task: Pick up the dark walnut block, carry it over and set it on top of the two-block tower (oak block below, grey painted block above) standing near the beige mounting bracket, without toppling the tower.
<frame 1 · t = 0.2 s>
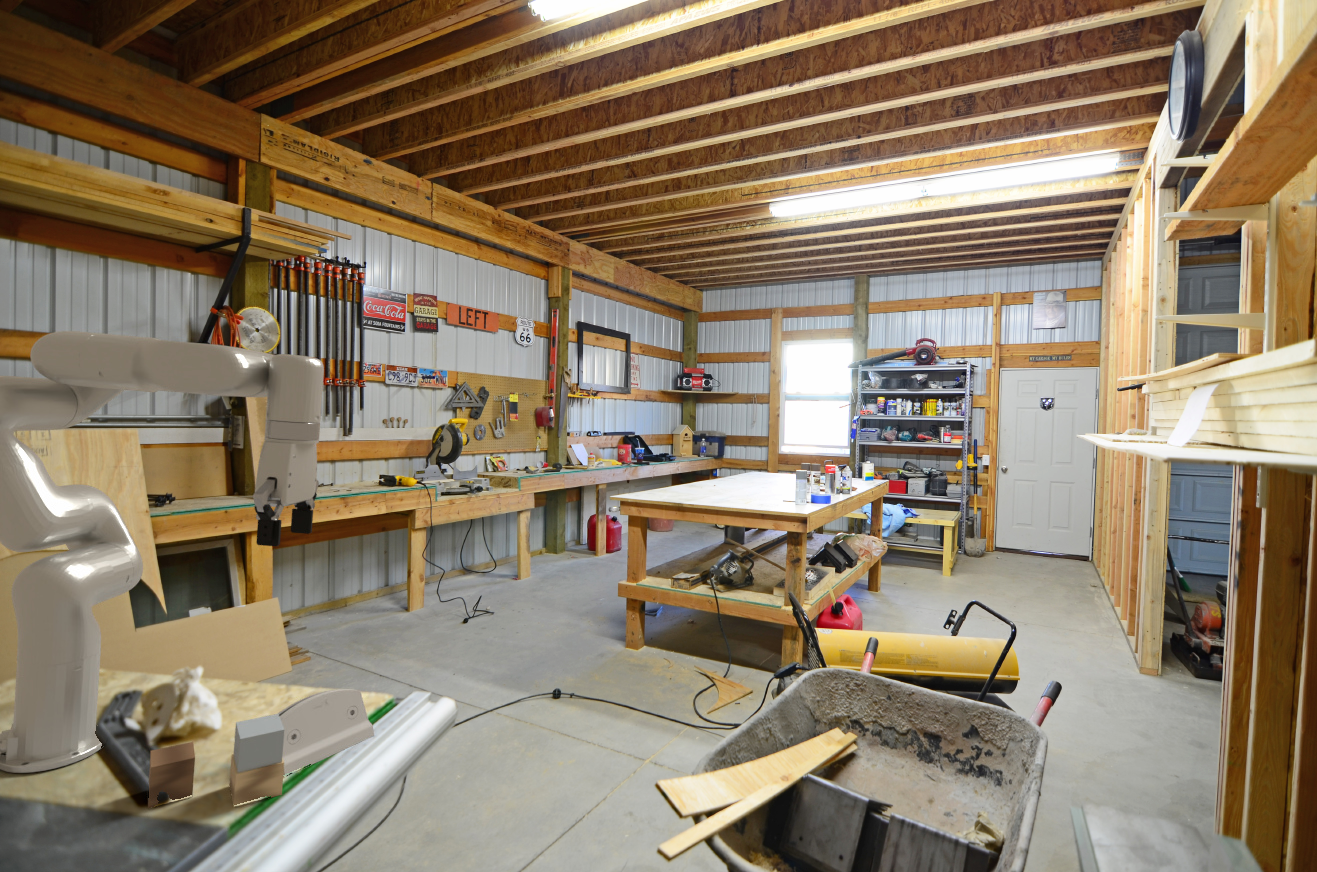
hand: (285, 538, 99), 37 cm above the table, tool pointing down, fingers open, 9 cm apart
oak block: (255, 790, 93), on the table, touching grey block
beige mounting bracket: (318, 749, 106), on the table
grey block: (257, 758, 93), point 5 cm above the table, touching oak block
walnut block: (170, 793, 91), on the table
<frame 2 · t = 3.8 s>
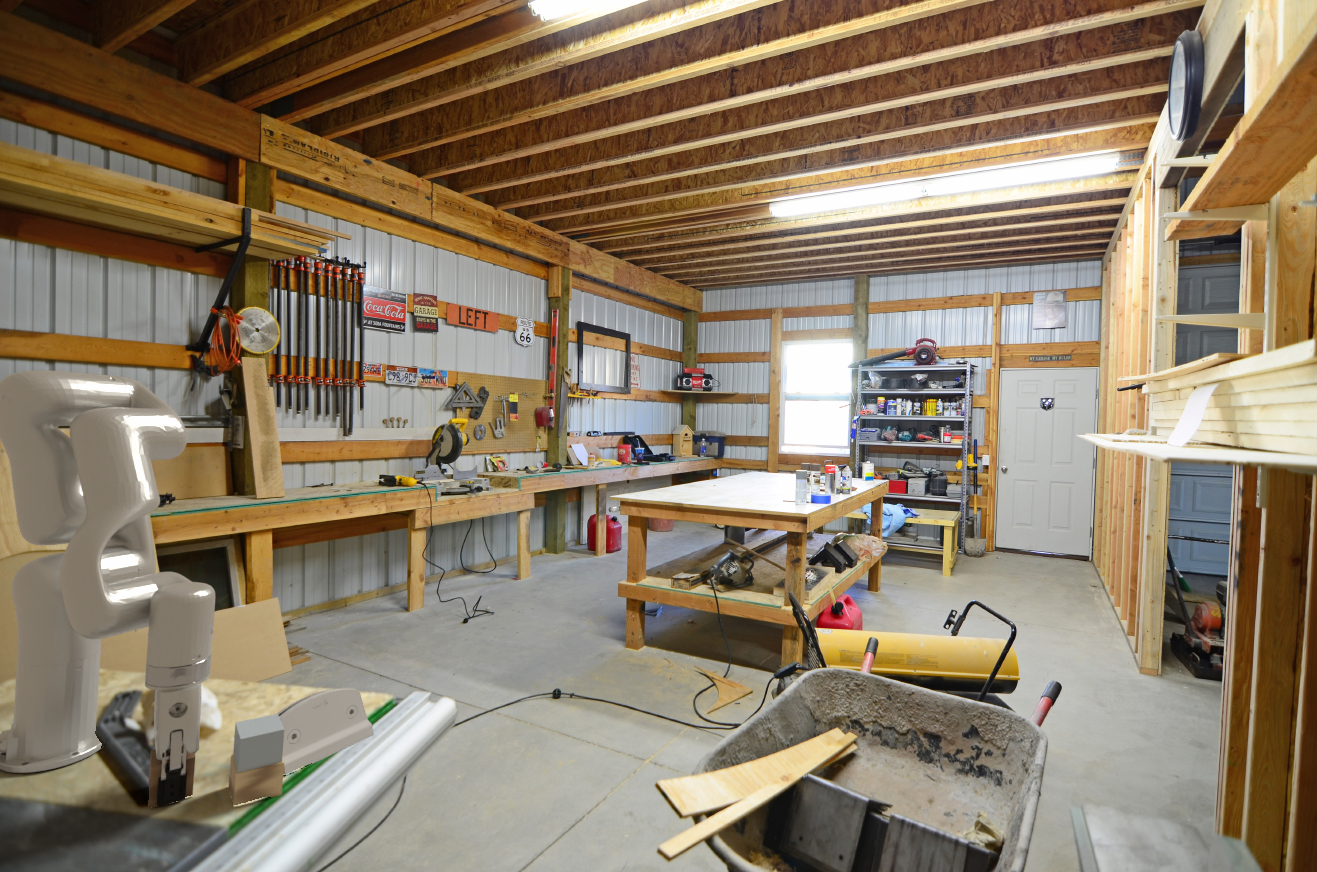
hand: (170, 790, 91), 0 cm above the table, tool pointing down, fingers closed on walnut block, 5 cm apart
walnut block: (170, 793, 91), on the table, touching gripper
everything else where it was.
when the fingers open (12 cm above the table, at t = 7.3 s): walnut block drops 1 cm, resting on grey block.
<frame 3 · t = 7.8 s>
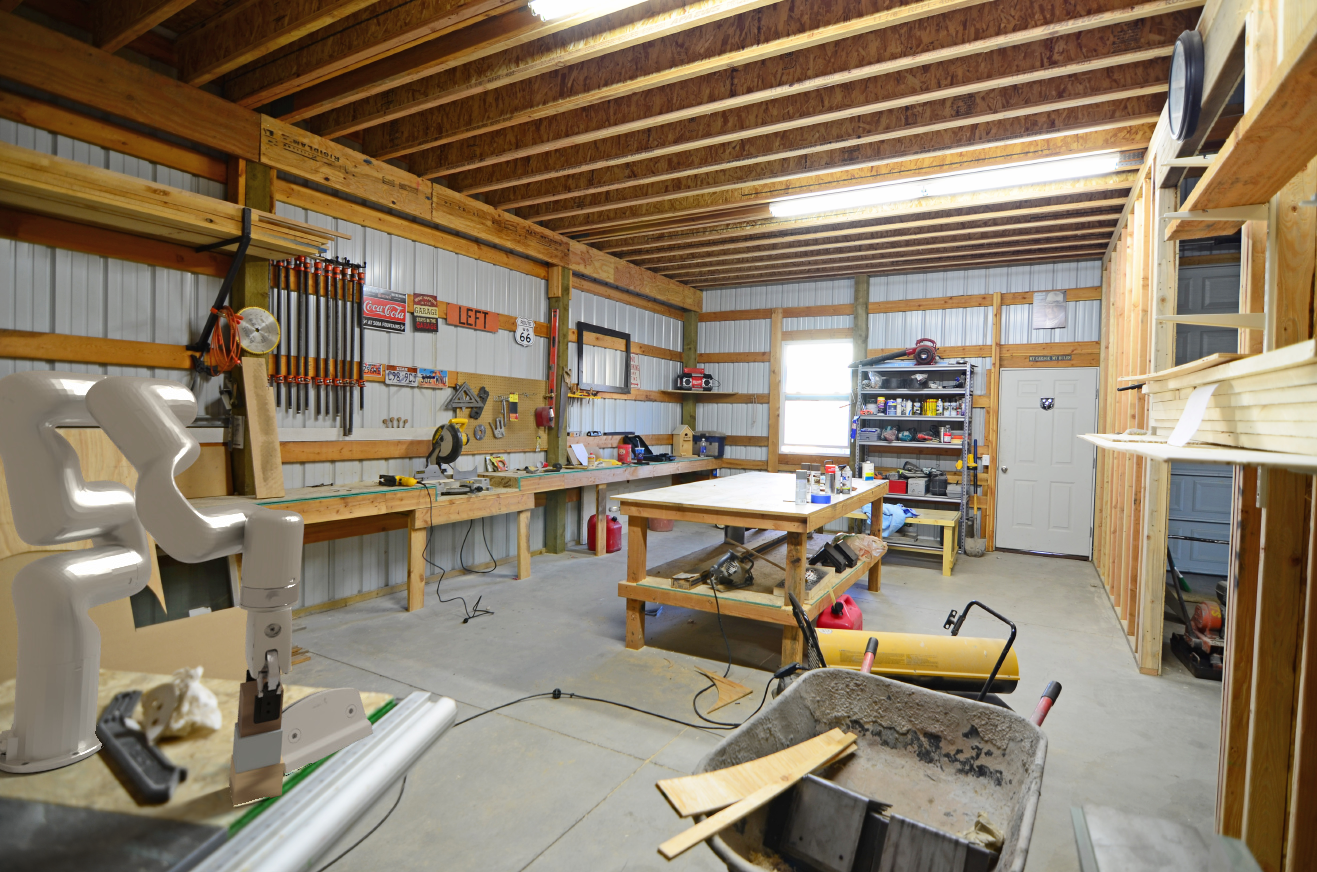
hand: (261, 706, 93), 13 cm above the table, tool pointing down, fingers open, 9 cm apart
grey block: (256, 759, 93), point 5 cm above the table, touching oak block, walnut block
walnut block: (259, 725, 93), point 10 cm above the table, touching grey block
everything else where it was.
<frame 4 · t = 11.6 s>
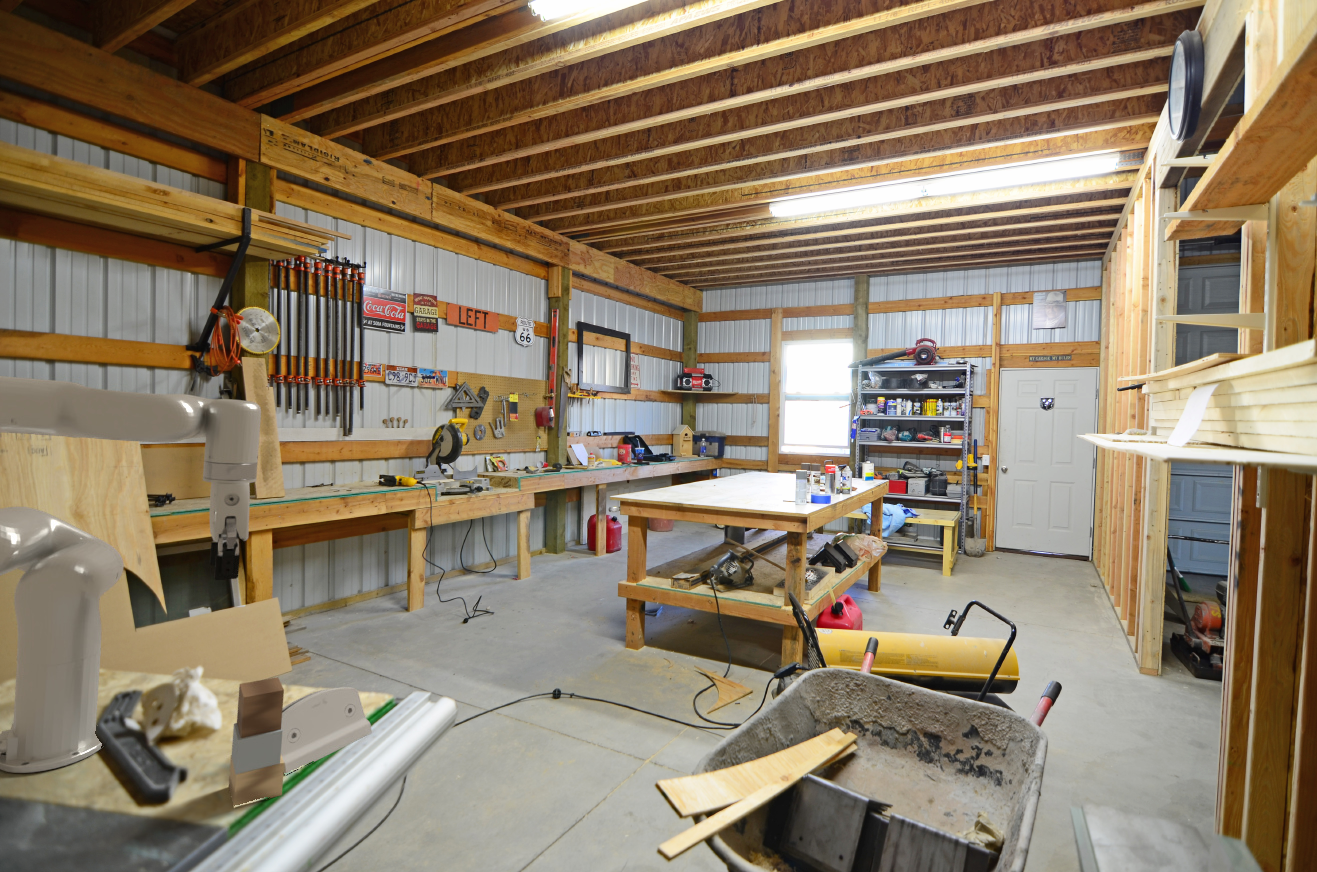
hand: (223, 571, 106), 28 cm above the table, tool pointing down, fingers open, 9 cm apart
nothing on the table moved.
at the end: walnut block 0.2 cm off-centre on the grey block, point 5.0 cm above the grey block's base; grey block tilted 0°; walnut block tilted 0° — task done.
